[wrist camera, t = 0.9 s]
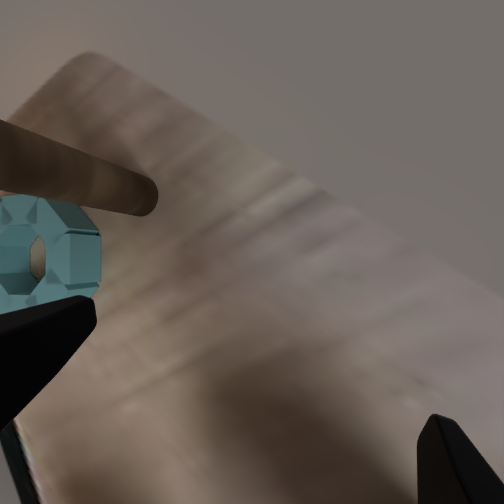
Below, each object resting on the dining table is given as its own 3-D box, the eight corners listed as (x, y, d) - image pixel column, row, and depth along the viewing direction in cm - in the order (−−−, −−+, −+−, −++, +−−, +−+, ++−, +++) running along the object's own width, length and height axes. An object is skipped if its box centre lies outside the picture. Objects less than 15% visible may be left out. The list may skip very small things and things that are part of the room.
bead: (53, 342, 27) (18, 352, 24) (-6, 259, 29) (-44, 260, 26) (122, 258, 25) (93, 258, 22) (53, 176, 27) (18, 167, 24)
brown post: (141, 224, 24) (-54, 195, 13) (117, 198, 25) (-89, 146, 13) (165, 194, 24) (-16, 133, 12) (140, 168, 25) (-54, 85, 13)
